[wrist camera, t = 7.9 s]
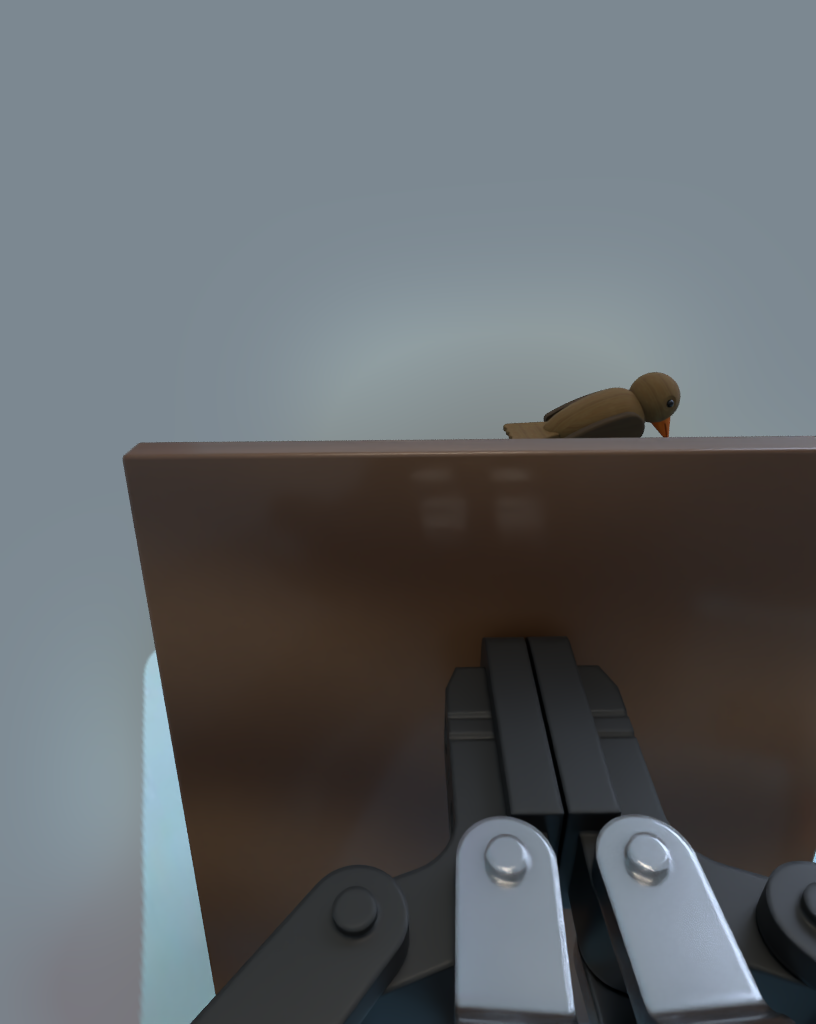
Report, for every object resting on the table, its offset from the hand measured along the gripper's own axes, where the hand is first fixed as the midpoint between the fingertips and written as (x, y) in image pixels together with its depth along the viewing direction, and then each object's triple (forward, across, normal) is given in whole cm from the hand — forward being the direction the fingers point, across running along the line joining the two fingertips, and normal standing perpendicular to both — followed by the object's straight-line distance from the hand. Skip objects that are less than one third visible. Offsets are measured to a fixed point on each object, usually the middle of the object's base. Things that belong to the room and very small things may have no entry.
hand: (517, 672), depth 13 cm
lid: (0, 0, +3) cm, 3 cm away
